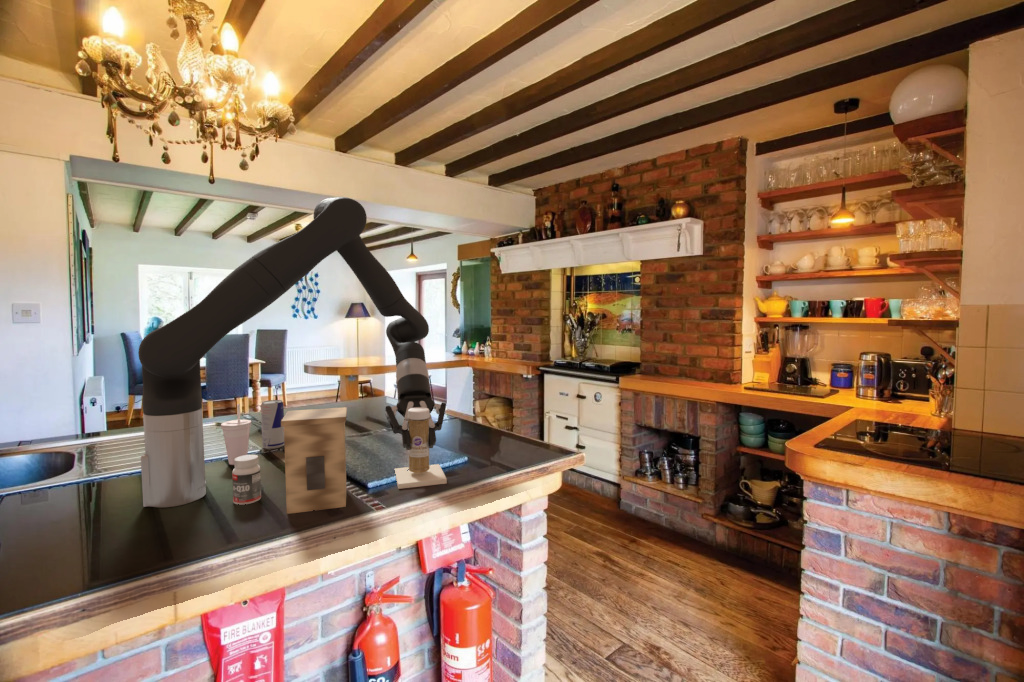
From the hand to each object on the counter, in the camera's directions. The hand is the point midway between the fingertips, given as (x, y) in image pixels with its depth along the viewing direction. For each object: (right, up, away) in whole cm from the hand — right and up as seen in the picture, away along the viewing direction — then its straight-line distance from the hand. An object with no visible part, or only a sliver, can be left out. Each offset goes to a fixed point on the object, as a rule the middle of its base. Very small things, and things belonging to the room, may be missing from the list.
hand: (420, 447), depth 102 cm
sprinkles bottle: (-1, -6, +2) cm, 6 cm away
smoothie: (-46, -7, +13) cm, 48 cm away
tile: (0, -7, +2) cm, 8 cm away
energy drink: (-44, -6, +26) cm, 51 cm away
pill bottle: (-31, -8, -10) cm, 34 cm away
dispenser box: (-17, -8, -11) cm, 22 cm away
